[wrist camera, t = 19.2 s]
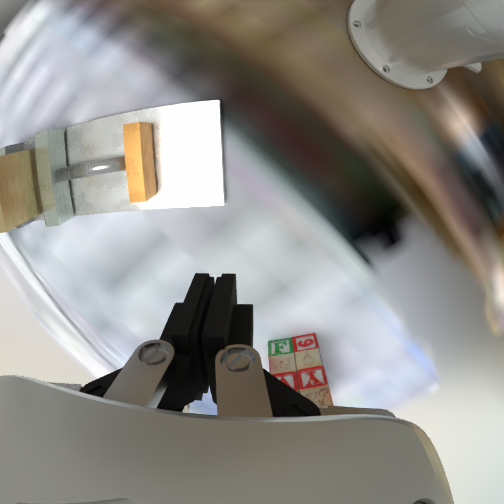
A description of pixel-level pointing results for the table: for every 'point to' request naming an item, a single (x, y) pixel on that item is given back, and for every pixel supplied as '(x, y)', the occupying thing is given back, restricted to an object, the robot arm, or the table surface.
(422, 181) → the table surface
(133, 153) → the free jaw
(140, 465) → the robot arm
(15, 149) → the vise
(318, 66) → the table surface
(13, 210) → the brass block
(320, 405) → the stack of blocks
